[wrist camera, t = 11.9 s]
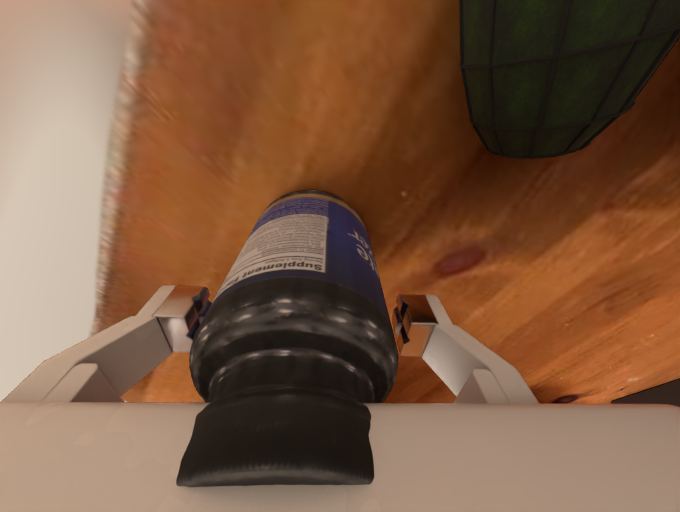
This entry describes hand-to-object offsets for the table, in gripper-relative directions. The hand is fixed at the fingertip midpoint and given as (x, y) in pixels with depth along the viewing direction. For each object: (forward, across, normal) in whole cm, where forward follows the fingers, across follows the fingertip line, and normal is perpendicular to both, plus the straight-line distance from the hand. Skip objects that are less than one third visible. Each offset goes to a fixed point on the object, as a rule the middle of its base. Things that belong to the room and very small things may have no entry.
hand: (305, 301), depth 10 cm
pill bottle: (+5, 0, 0) cm, 5 cm away
